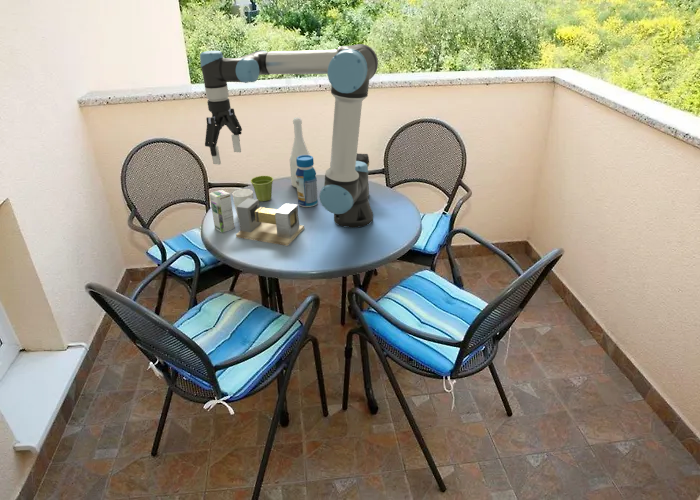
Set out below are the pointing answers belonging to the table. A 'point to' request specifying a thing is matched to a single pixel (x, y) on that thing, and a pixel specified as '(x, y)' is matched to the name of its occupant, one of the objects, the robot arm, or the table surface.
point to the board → (268, 234)
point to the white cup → (241, 196)
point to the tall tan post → (269, 216)
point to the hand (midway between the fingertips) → (227, 157)
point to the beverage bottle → (306, 181)
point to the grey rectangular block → (286, 220)
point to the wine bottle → (297, 149)
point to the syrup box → (222, 210)
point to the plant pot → (262, 187)
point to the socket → (248, 215)
